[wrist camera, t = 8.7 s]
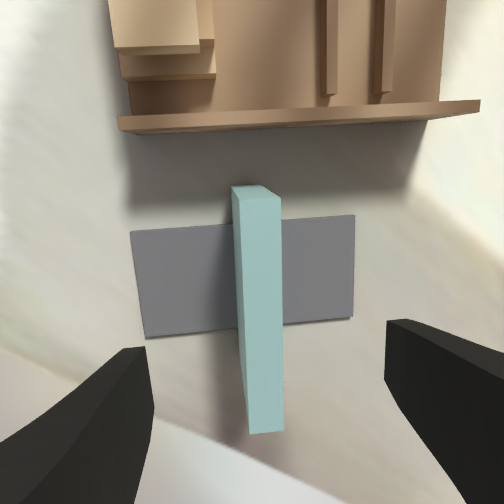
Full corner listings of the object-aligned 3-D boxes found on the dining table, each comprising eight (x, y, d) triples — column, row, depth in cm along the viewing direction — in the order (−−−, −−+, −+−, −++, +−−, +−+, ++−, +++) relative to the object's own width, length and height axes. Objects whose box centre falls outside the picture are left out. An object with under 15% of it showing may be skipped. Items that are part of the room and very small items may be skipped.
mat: (146, 334, 21) (145, 337, 20) (131, 230, 19) (129, 232, 19) (351, 314, 22) (353, 316, 21) (353, 214, 20) (355, 215, 20)
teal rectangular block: (239, 358, 21) (249, 434, 16) (230, 185, 19) (239, 199, 13) (264, 356, 21) (284, 430, 16) (260, 184, 19) (280, 197, 13)
